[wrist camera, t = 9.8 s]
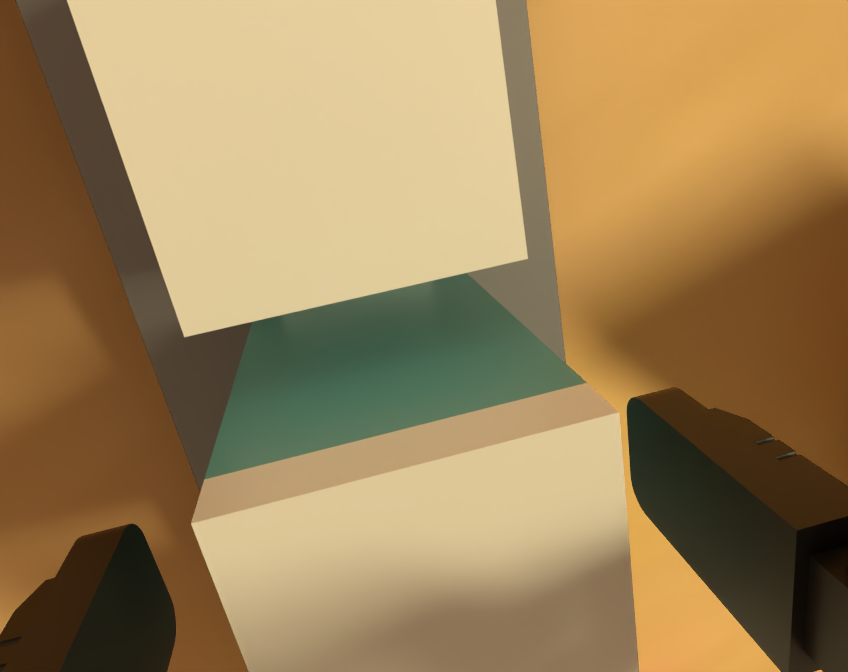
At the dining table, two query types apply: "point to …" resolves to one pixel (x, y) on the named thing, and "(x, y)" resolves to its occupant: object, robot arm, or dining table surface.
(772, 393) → the dining table surface
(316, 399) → the block
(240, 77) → the rail board
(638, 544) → the dining table surface
